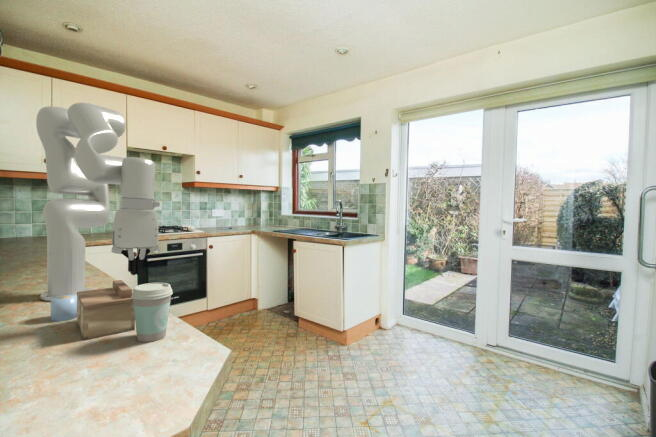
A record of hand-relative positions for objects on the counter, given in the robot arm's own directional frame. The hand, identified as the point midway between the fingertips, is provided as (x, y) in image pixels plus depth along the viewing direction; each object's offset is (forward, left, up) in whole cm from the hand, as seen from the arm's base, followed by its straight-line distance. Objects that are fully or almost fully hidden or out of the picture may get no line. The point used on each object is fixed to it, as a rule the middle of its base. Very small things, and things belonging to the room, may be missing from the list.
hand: (135, 273), depth 84 cm
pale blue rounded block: (-12, -14, -12) cm, 22 cm away
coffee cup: (+15, 0, -13) cm, 19 cm away
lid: (+1, -7, -5) cm, 8 cm away
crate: (+1, -7, -12) cm, 14 cm away
